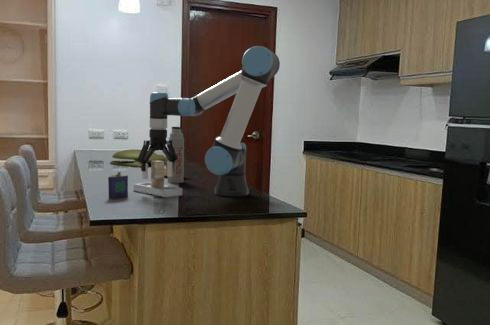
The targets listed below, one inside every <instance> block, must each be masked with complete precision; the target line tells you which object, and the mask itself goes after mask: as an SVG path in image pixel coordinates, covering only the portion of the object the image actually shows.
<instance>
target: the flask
mask: <svg viewBox="0 0 490 325" xmlns="http://www.w3.org/2000/svg"><path fill="white" fill-rule="evenodd" d="M121 173H122V172H121V171H117V173H116V174H114V175H113V174H112V175H109V176H108V178H107V179H108V181H107V182H108V184H107V185H108V200H116V199H121V198H122V199H123V198H127V196H128V195H129V190H128V189H129V188H128V187H129V185H128V184H129V175H128V174H121ZM128 197H129V196H128Z"/></svg>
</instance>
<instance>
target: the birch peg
mask: <svg viewBox="0 0 490 325" xmlns="http://www.w3.org/2000/svg"><path fill="white" fill-rule="evenodd" d="M164 169H165V164H164V161H159V160H157V161H151V163H150V182H151V187H156V188H157V187H164V185H165V176H164Z"/></svg>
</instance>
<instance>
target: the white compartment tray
mask: <svg viewBox="0 0 490 325" xmlns="http://www.w3.org/2000/svg"><path fill="white" fill-rule="evenodd" d="M133 191H134V192H137V191H139V192H138V193H142V192H143V193H142V194H147V193H148V194H147V195H151V194H152V196H157V197H160V196H161V197H162V198H172V197H173V198H174V197H180V196H183V188H182V187H177V186H172V185H167V184H164V187H157V188H156V187H151V181H148V182H147V181H146V182H140V183H133Z"/></svg>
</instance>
